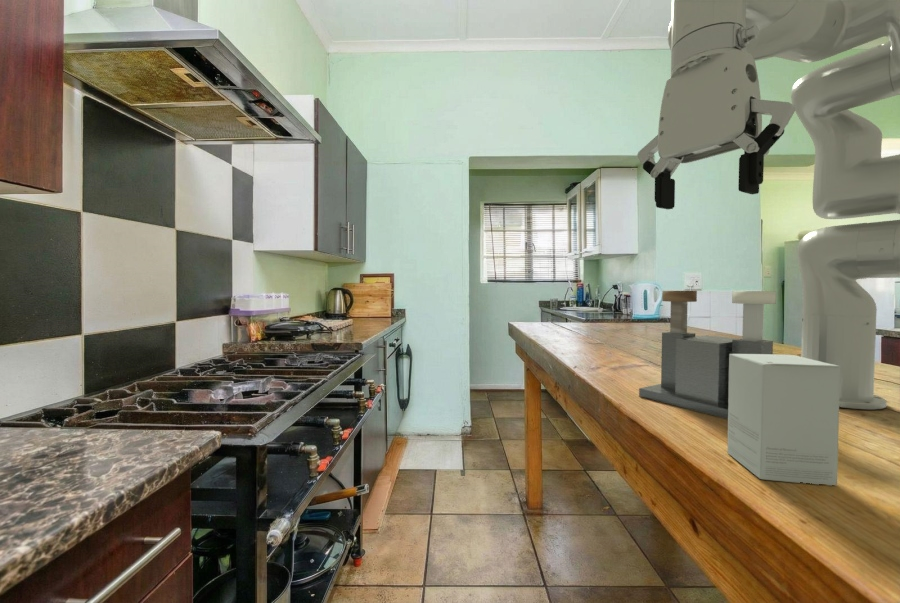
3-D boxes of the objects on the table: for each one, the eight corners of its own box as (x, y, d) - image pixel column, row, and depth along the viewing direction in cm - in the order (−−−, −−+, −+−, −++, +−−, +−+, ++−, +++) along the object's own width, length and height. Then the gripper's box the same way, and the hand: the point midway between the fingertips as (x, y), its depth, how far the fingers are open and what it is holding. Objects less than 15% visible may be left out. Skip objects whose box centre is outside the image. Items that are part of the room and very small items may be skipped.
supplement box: (840, 487, 40) (844, 365, 40) (758, 480, 42) (761, 363, 41) (793, 457, 48) (796, 353, 47) (724, 452, 49) (727, 351, 49)
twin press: (678, 387, 81) (679, 329, 80) (794, 412, 64) (796, 340, 64) (639, 396, 74) (640, 333, 74) (756, 426, 58) (758, 346, 57)
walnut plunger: (672, 350, 78) (673, 290, 78) (701, 354, 73) (703, 290, 73) (655, 353, 75) (656, 290, 75) (684, 357, 70) (686, 290, 70)
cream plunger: (740, 360, 68) (742, 290, 67) (780, 365, 63) (782, 291, 62) (723, 363, 65) (725, 291, 65) (764, 369, 60) (766, 291, 60)
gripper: (811, 28, 42) (806, 189, 43) (657, 96, 57) (655, 215, 58) (779, 3, 38) (774, 180, 39) (623, 83, 53) (621, 210, 54)
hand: (703, 201), depth 48 cm, fingers open, 9 cm apart
